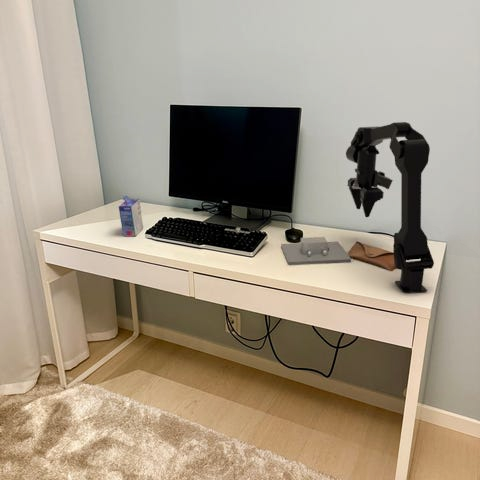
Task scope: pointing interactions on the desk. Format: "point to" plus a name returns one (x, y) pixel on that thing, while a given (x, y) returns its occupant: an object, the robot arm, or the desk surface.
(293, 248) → the pin tray
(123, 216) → the ink cartridge box
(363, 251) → the sunglasses case
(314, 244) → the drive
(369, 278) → the desk surface
